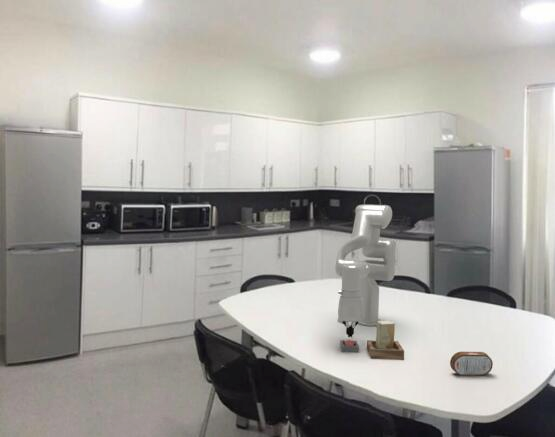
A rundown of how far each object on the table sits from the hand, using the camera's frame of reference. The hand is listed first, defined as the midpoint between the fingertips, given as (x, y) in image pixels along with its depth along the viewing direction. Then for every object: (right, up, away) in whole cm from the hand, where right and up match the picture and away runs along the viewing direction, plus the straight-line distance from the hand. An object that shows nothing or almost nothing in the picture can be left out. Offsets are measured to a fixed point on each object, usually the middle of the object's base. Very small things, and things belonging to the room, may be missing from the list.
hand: (349, 336), depth 189 cm
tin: (+41, -8, -24) cm, 48 cm away
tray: (+14, -6, -5) cm, 15 cm away
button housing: (0, -6, 0) cm, 5 cm away
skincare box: (+14, -5, -5) cm, 15 cm away
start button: (0, -5, 0) cm, 5 cm away
